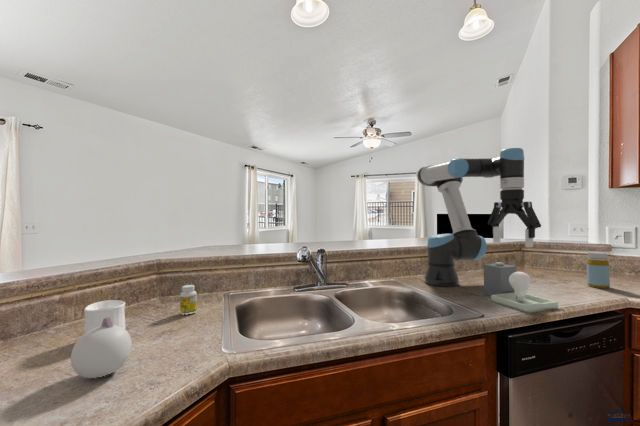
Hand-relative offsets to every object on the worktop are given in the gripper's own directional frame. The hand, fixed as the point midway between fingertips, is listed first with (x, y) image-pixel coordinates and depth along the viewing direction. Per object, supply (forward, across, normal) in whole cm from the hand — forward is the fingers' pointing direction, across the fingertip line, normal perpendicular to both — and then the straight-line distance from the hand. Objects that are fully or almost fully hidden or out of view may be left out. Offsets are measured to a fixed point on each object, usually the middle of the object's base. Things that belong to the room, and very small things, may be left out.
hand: (511, 244), depth 109 cm
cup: (+20, -6, -138) cm, 139 cm away
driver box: (+21, -6, 0) cm, 22 cm away
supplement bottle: (+21, -22, -119) cm, 123 cm away
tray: (+21, +6, -2) cm, 22 cm away
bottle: (+22, -2, +50) cm, 55 cm away
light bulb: (+20, +6, -3) cm, 21 cm away
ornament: (+20, +15, -129) cm, 132 cm away
